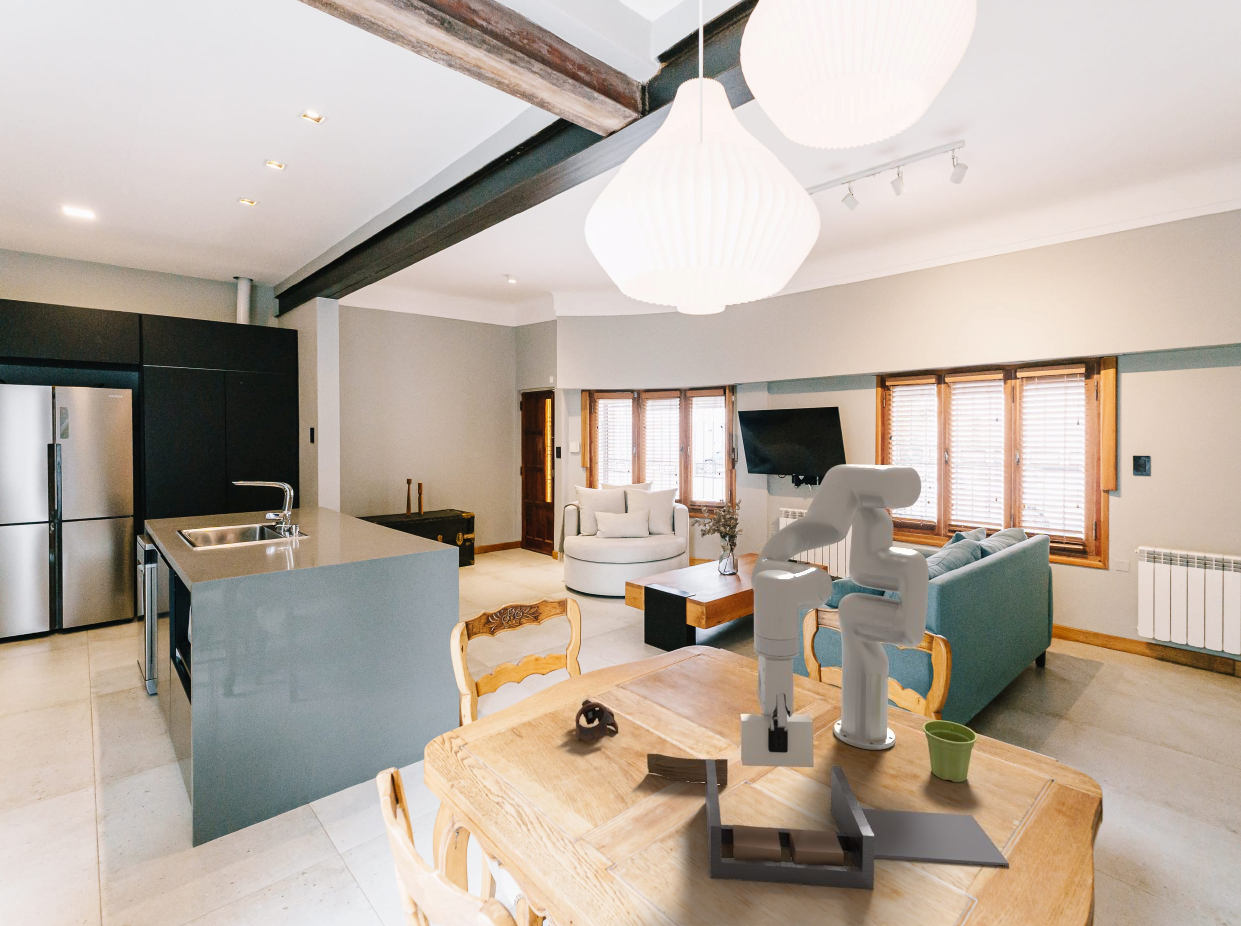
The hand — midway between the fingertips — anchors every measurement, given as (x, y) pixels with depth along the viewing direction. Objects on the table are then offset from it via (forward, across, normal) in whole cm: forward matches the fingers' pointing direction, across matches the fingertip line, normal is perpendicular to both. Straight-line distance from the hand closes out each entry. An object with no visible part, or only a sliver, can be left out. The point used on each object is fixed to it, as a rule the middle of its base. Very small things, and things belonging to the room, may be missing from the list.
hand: (776, 746), depth 105 cm
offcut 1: (+12, +12, -5) cm, 18 cm away
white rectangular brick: (+3, 0, 0) cm, 3 cm away
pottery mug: (+13, -26, -36) cm, 46 cm away
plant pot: (+13, -16, +36) cm, 41 cm away
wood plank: (+13, -9, -16) cm, 22 cm away
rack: (+12, +7, 0) cm, 14 cm away
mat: (+13, +4, +24) cm, 27 cm away
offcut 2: (+12, +12, +4) cm, 18 cm away
